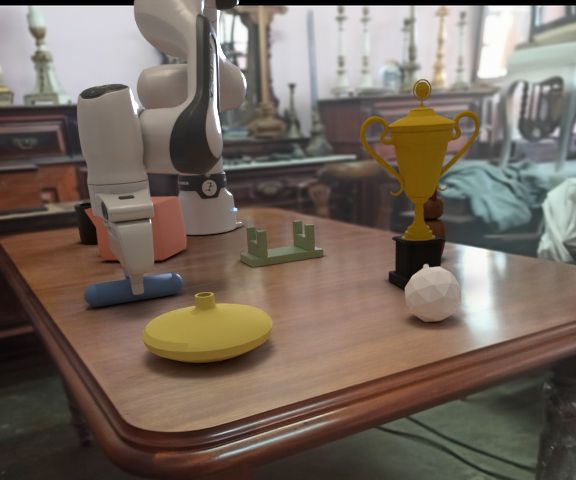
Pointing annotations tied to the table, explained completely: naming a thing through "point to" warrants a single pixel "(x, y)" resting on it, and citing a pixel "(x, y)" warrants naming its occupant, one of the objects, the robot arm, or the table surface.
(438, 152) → the trophy
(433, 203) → the wooden figurine
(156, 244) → the teapot
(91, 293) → the handle
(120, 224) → the robot arm
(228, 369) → the table surface
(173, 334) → the vase
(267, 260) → the holder
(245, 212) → the table surface
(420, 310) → the ornament
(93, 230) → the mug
